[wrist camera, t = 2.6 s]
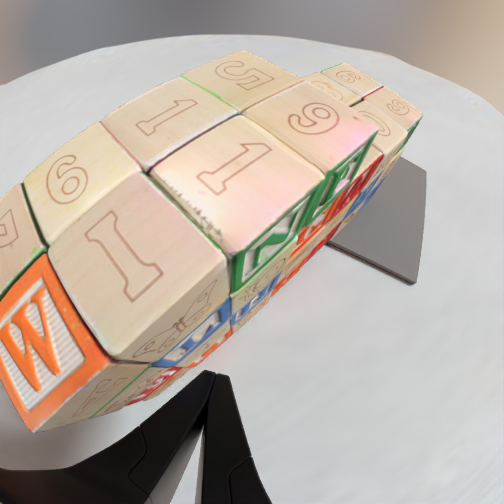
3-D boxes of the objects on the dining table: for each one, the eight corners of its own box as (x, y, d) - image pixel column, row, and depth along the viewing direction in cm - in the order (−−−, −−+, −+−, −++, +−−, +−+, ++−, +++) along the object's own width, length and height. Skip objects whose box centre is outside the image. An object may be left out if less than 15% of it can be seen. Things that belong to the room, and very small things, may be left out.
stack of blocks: (315, 151, 23) (357, 24, 12) (372, 198, 21) (449, 80, 10) (98, 321, 16) (-44, 240, 5) (157, 399, 15) (21, 438, 3)
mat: (413, 284, 19) (416, 282, 19) (139, 164, 22) (138, 161, 21) (424, 173, 24) (426, 171, 24) (215, 88, 27) (215, 85, 27)
